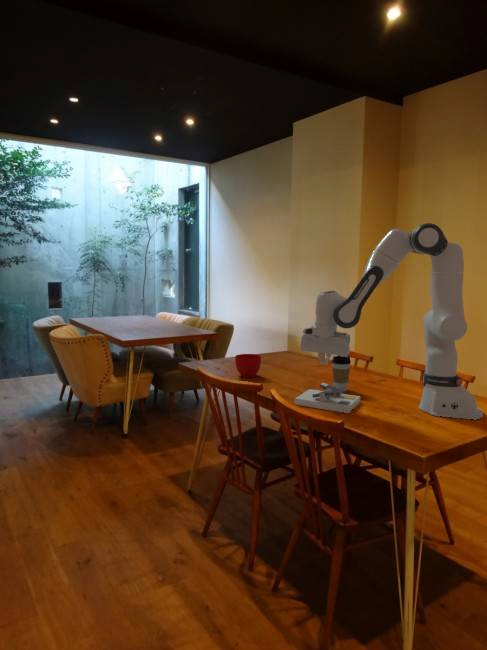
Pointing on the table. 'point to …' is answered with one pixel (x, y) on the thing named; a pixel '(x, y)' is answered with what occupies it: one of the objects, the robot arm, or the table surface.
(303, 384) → the table surface
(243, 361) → the ceramic cup
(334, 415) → the table surface
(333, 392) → the rocker front
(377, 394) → the table surface
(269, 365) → the table surface
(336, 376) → the coffee cup
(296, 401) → the switch unit
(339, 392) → the rocker back
